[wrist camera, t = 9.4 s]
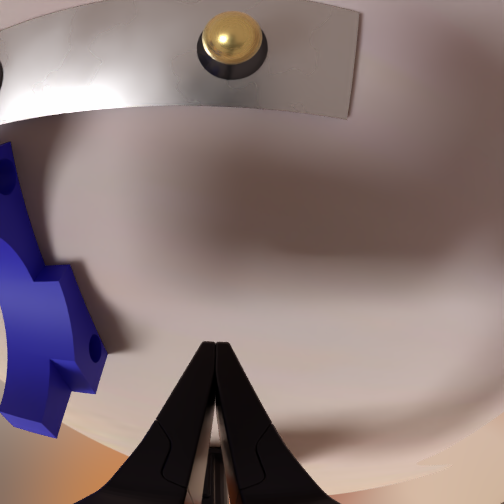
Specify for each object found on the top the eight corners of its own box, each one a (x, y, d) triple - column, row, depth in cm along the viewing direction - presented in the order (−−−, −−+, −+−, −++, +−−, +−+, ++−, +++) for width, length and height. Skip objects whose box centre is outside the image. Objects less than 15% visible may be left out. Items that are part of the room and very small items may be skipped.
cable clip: (108, 351, 16) (82, 443, 11) (47, 346, 16) (13, 426, 11) (39, 132, 10) (-68, 189, 4) (-29, 155, 9) (-118, 212, 4)
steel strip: (343, 117, 10) (390, 139, 7) (-35, 132, 9) (-91, 159, 5) (355, 14, 8) (407, -6, 5) (-36, 49, 7) (-94, 59, 3)
